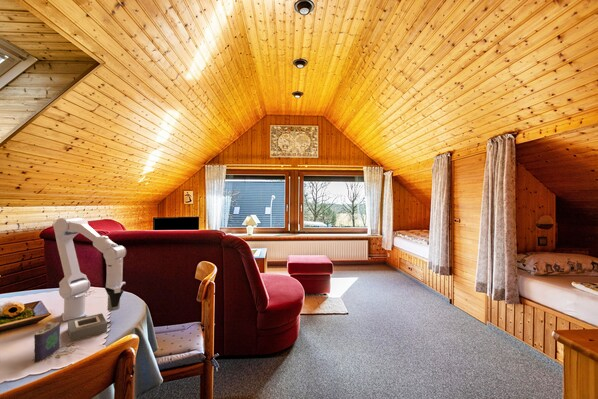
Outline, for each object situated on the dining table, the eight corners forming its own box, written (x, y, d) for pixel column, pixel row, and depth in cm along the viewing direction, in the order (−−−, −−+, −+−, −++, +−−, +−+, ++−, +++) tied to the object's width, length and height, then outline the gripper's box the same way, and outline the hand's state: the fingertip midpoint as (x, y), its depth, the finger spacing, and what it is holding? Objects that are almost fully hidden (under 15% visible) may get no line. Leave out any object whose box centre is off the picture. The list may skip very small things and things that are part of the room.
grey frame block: (67, 329, 105) (68, 320, 105) (101, 321, 113) (102, 312, 113) (70, 341, 97) (70, 331, 97) (106, 331, 104) (106, 322, 104)
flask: (53, 346, 93) (54, 316, 93) (63, 346, 94) (63, 316, 94) (31, 363, 84) (32, 329, 84) (41, 362, 84) (42, 329, 84)
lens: (106, 308, 115) (106, 292, 115) (118, 305, 118) (119, 290, 118) (108, 311, 112) (108, 295, 112) (120, 309, 115) (121, 292, 115)
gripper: (129, 276, 113) (128, 307, 113) (121, 268, 123) (120, 297, 123) (109, 279, 108) (108, 312, 108) (103, 271, 118) (102, 301, 118)
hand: (113, 304), depth 115 cm, fingers closed on lens, 4 cm apart
